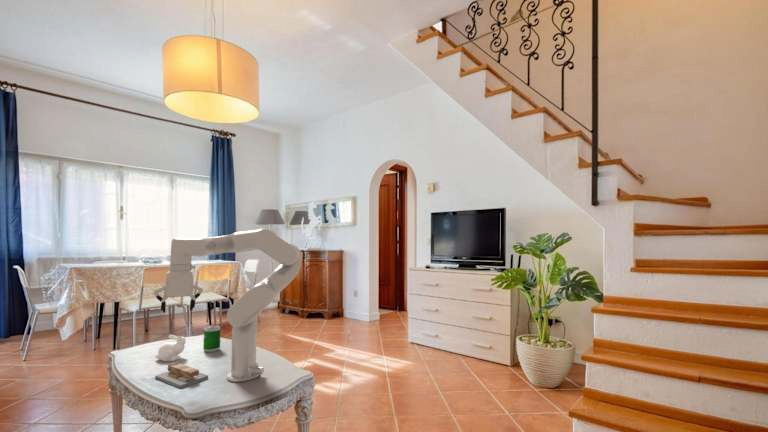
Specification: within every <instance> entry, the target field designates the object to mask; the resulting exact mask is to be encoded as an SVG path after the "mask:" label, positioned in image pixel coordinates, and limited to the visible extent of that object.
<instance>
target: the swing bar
mask: <svg viewBox="0 0 768 432" xmlns="http://www.w3.org/2000/svg"><path fill="white" fill-rule="evenodd" d="M167 370H168V371H171V372H174V373H177V374H180V375H182V376H185V377H188V378H192V377H195V376H197V375H199V372H200V369H197V368H194V367H192V366H188V365H186V364H183V363H180V362H171V363H169V364H168V366H167Z"/></svg>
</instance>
